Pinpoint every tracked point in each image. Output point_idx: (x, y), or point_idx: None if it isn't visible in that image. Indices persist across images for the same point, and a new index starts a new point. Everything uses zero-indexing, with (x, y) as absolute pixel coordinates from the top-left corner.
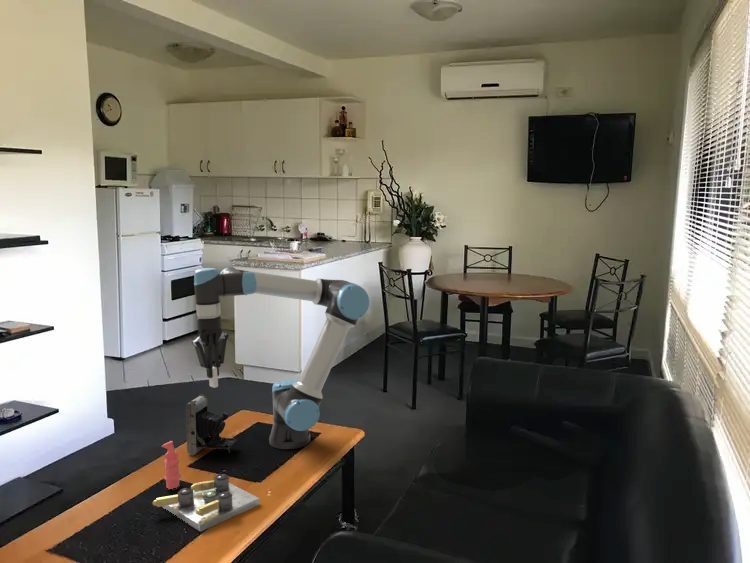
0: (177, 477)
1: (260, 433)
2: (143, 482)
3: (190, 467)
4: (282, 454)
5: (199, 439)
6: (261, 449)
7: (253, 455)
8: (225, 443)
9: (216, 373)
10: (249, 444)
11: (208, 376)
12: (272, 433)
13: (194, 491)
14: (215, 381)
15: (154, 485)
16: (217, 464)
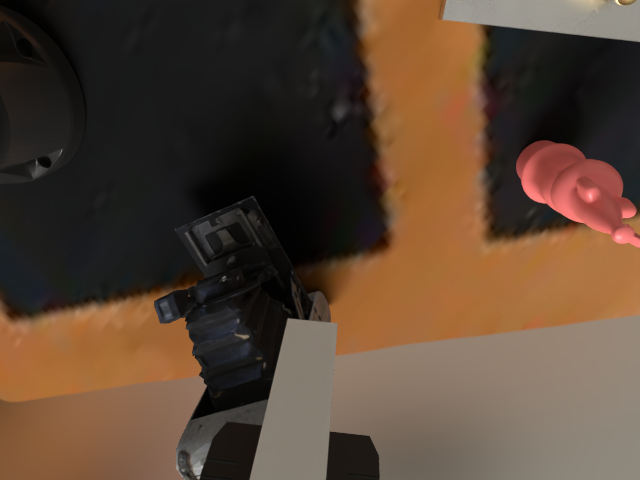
0: (559, 146)
1: (54, 245)
2: (556, 270)
3: (391, 233)
4: (95, 23)
5: (299, 309)
6: (130, 136)
7: (184, 120)
8: (230, 235)
9: (272, 450)
10: (136, 207)
11: (376, 473)
12: (45, 137)
13: (593, 10)
14: (313, 368)
15: (559, 224)
16: (320, 173)
